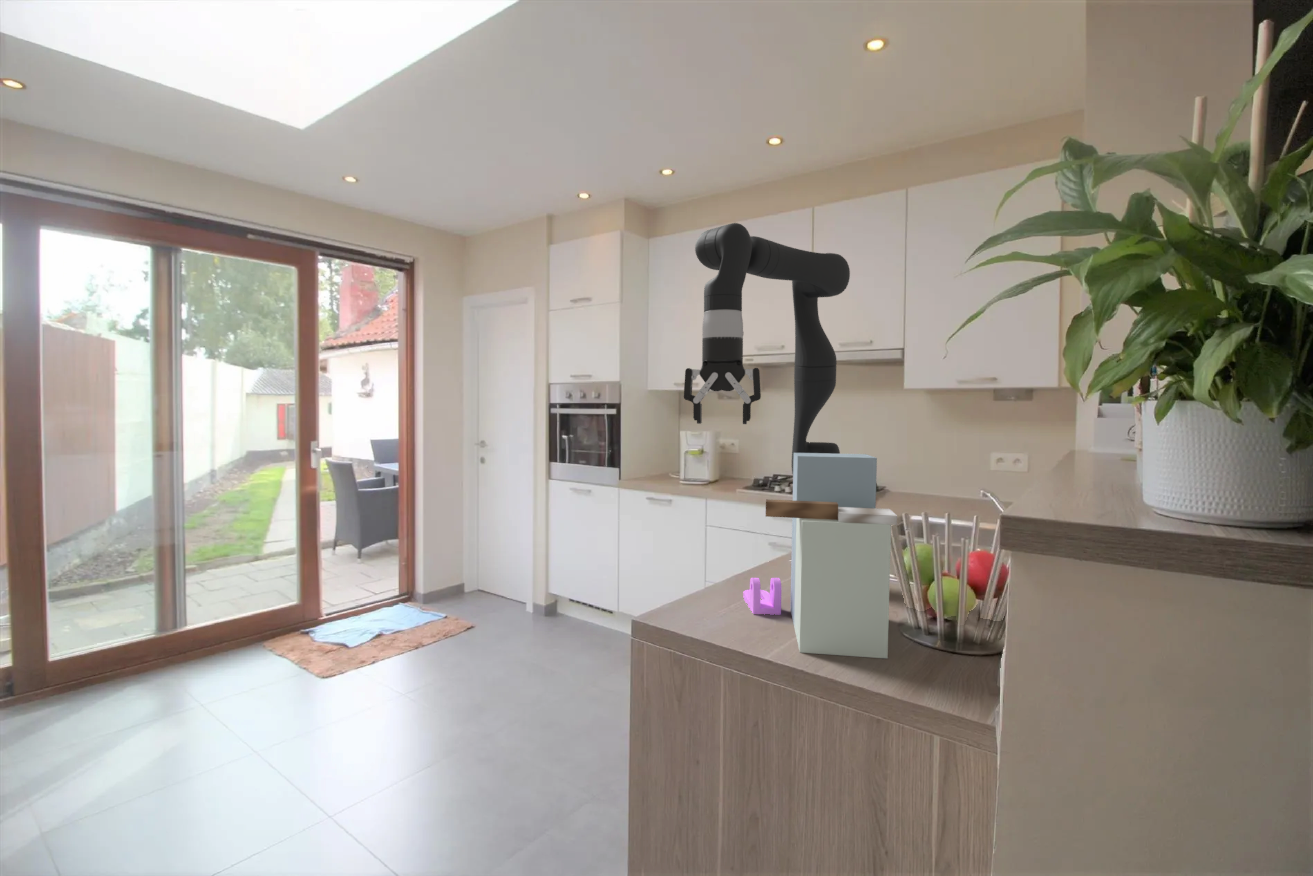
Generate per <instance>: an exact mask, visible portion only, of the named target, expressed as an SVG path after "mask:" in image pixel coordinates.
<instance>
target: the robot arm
mask: <svg viewBox="0 0 1313 876" xmlns="http://www.w3.org/2000/svg"><path fill="white" fill-rule="evenodd" d="M694 251H695V255H696V258H697V260H699V262H700V263H701V264H702V265H703V266H704V267H705V268H708V269H710V270H713V271H718V272H717V275H715V276H714V277H713V278H712V279H710V280H708V281H707V282H706V283H705V284H704V289H703V316H702V317H703V318H702V327H701V328H702V329H701V330H702V331H701V332H702V335H701V337H702V340H701V341H702V342H701V343H702V345H701V346H702V349H701V350H702V354H701V355H702V356H701V357H702V358H701V361H702V362H701V367H700V369H692V368H690V367H689V368H686V369H685V371H684V372H685V373H684V383H683V384H684V388H683V399H684V400H685V401H688V402H691V403H692V404H693V407H692V408H693V409H692V410H693V412H692V413H693V415H692V416H693V419H694V421H696V424H699V425H702V423H703V422H702V420H703V418H702V415H703V413H702V412H703V411H702V410H703V407H702V406H703V405H702V403H701V402H702V401H703V399H704V398H705V397H706V395H707V394H708V393H709V392H710V390H711V391H713V392H721V391H723V392H733V391H734V390H735V392H736V393H737V394H738V396H739V397H740V398H741V399H742V401H743V404H742V425H747V424H748V422H750V420H751V418H752V416H751V411H752V409H751V405H752V403H754V402H756V401H760V400H761V397H762V396H761V395H762V393H761V392H762V391H761V375H760V369H759V368H758V367H754V368H748V369H747V368H746V369H745V367H744V364H743V363H744V362H743V360H744V359H743V358H744V357H743V356H744V353H743V352H744V320H743V312H742V311H743V288H744V283H745V280H746V277H747V274H748V275H752V276H756V277H760V278H764V279H770V280H781V281H791V284H792V285H791V287H792V288H791V289H792V301H793V313H794V337H795V338H794V339H795V343H794V351H795V352H794V364H793V365H794V367H793V368H794V369H793V370H794V371H793V372H794V374H793V375H794V376H793V377H794V379H793V381H794V382H793V385H794V418H793V421H794V422H793V433H792V435H793V436H792V445H791V446H792V447H791V448H792V449H791V474H792V475H793V459H794V453H831V454H841V451H840V447H839V445H838V444H837V443H835V442H822V441H820V442H819V441H818V442H817V441H816V442H815V441H807V437H808V435H809V432H810V429H811V427H812V425H813V422H814V421H815V419H816V418H817V416H818V415H819V413H820V411H821V410H822V409H823V407H824V406H825V405H826V403H827V402H828V400H829V399H830V398H831V396H832V394H833V393H834V390H835V388H836V386H837V385H836V384H837V355H836V352H835V350H834V347H833V345H832V343H831V342H830V339H829V338H828V336H827V334H826V333H825V331H824V329H823V325H822V323H821V321H820V317H819V305H818V304H819V303H818V301H819V298H832V297H835V296H836V297H837V296H839V295H840V294H842V293H843V292H844V291H845V290H846V289H847V287H848V285H849V282H850V278H851V277H850V276H851V270H850V265H849V263H848V261H847V259H846V258H845V257H843V255H841V254H838V253H833V252H827V253H823V252H822V253H821V252H815V251H809V250H804V249H800V248H794V247H792V246H788V245H784V244H781V243H779V242H775V241H773V240H770V239H766V238H763V237H760V236H753V235H750V233H749V231H748V229H747V228H746V227H745V225H743V224H742V223H738V222H733V223H729V224H725V225H722V226H718V227H714V228H711V229H708V230H707V229H706V230H705V231H704V232H703V233H701V234H700V235H699V236H698V238H697V239H696V242H695V245H694ZM698 376H700V378H701V379H702V381H704V384H703V385H702V387H701V388H700V389H699V391H698V392H697V393H696V395H694V394H693V381H696V380H697V377H698ZM745 376H748V380H750V381H752V382H753V394H752V395H749V394H748V393H747V391H746V390H745V389H744V388H743V386H742V384H740V382H741V381H742V380H743V379H744V377H745Z"/></svg>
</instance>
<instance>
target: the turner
mask: <svg viewBox="0 0 1313 876" xmlns="http://www.w3.org/2000/svg"><path fill="white" fill-rule="evenodd" d="M766 517H770V518H771V517H772V518H787V519H788V518H791V519H792V518H809V519H830V520H838V521H839V522H846V523H867V524H889V525H891V526H892V525H893V526H898V515H897V514H896V513H895V512H894V511H893V510H892V509H891V508H877V507H876V508H854V507H838V503H837V502H817V501H793V499H792V500H787V499H785V500H784V499H766V500H765V518H766Z"/></svg>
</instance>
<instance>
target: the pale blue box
mask: <svg viewBox="0 0 1313 876" xmlns="http://www.w3.org/2000/svg"><path fill="white" fill-rule="evenodd" d="M877 462H878V458H877V457H876V456H872V455H869V454H866V453H840V454H831V453H794V459H793V474H792V501H817V502H837V503H838V507H854V508H877V505H876V503H877V501H876V500H877V469H878V468H877V467H878V466H877V465H878V463H877ZM791 521H792V523H791V556H790V557H791V564H790V565H791V566H790V571H791V572H790V607H789V608H790V610H789V611H790V614H791V619H792V623H793V627H794V628H793V629H794V632H795V637H796V641H797V645H798V646H797V648H798V650H799V651H798V653H802V654H815V655H816V654H817V655H818V654H819V655H830V656H831V655H832V656H846V657H858V658H859V657H861V658H874V659H889V657H888V652H889V651H888V650H889V617H890V582H891V581H890V580H891V579H890V578H891V575H890V574H891V546H892V545H891V544H892V543H891V539H892V525H889V524H867V523H846V522H839V521H838V520H830V519H809V518H791Z"/></svg>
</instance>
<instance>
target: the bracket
mask: <svg viewBox="0 0 1313 876" xmlns="http://www.w3.org/2000/svg"><path fill="white" fill-rule="evenodd" d="M769 581H770V582H769V583H770V584H769V591H767V590H764V589H761V581H760V578H759V577H750V579H749V589H746V590H743V591H742V596H743V597H742V599H743V598H744V599H743V601H744V602H745V604H746V603H747V604H748V605H747V604H746V605H747V607H748V609H749V608H750V609H749V611H750V612H751V611H752V612H751V614H752V613H753V614H764V615H765V614H770V616H773V615H774V614H775V615H776V616H777V615H779V616H780V615H782V582H781V581H782V580H781V579H780V577H771V578H770V580H769ZM760 598H761V599H762V600H761V599H760ZM753 614H752V615H753ZM775 615H774V616H775ZM765 616H766V615H765Z"/></svg>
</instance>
